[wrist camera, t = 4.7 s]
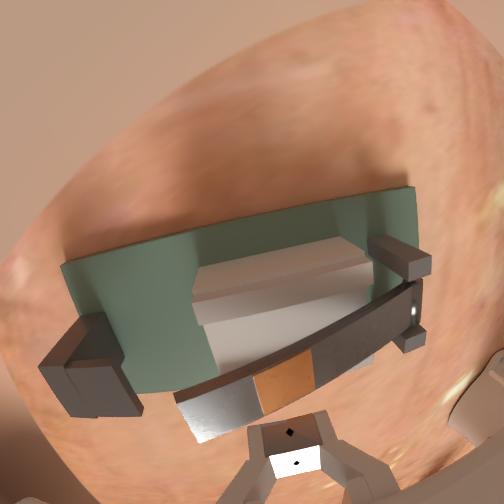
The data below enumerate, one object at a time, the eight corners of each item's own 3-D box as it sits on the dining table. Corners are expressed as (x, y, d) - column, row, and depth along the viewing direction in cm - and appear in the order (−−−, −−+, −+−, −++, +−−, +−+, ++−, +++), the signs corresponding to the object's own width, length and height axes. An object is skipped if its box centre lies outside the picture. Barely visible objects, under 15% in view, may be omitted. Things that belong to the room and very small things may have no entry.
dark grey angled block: (143, 304, 20) (109, 362, 13) (162, 352, 21) (142, 418, 14) (80, 315, 19) (37, 366, 13) (102, 359, 21) (70, 417, 14)
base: (408, 186, 20) (463, 195, 14) (410, 325, 24) (448, 362, 17) (65, 261, 19) (19, 293, 13) (123, 388, 23) (103, 437, 17)
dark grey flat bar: (410, 274, 17) (427, 279, 15) (409, 312, 18) (424, 319, 16) (171, 389, 11) (178, 408, 10) (193, 428, 12) (201, 447, 11)
